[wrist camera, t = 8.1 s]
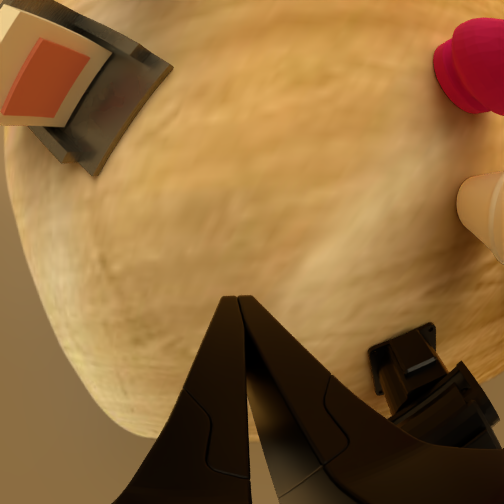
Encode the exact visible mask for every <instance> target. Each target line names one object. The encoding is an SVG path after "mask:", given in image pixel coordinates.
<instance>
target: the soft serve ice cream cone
mask: <svg viewBox="0 0 504 504" xmlns="http://www.w3.org/2000/svg"><path fill="white" fill-rule="evenodd" d="M456 204H457V213H458V216H459V219H460V221H461V223H462V224H463V225H464V226H465V227H466V228H467V229H468V230H470V231H471V232H472V233H473V234H474V235H475V236H476V237H477V238H478V239H479V240H481V241H482V242H483V243H484V244H485V245H486V246H487V247H488V248H489V249H490V250H491V251H492V253H493V254H494V256H495V257H496V259H497V260H498V261H499V262H500V263H501V264H503V265H504V171H500V172H494V173H489V174H484V175H478V176H473V177H470V178H468V179H466V180H465V181H464V182H463V184H462V185H461V187H460V189H459V191H458V195H457V203H456Z"/></svg>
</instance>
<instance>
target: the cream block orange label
mask: <svg viewBox="0 0 504 504" xmlns="http://www.w3.org/2000/svg"><path fill="white" fill-rule="evenodd" d="M111 54H112V52H110V51H109V50H107V49H105V48H104V47H102V46H100V45H98V44H97V43H95V42H93V41H91V40H90V39H88V38H86V37H84V36H82V35H80V34H78V33H76V32H74V31H71V30H69V29H67V28H65V27H63V26H61V25H58V24H56V23H54V22H51V21H49V20H47V19H44V18H42V17H39V16H37V15H34V14H31V13H29V12H26V11H23V10H21V9H18V8H15V7H12V6H9V5H6V4H4V5H3V6H2V8H1V9H0V126H52V127H65V125H66V123H67V121H68V120H69V118H70V116H71V114H72V112H73V111H74V109H75V107H76V106H77V104H78V102H79V101H80V99H81V97H82V96H83V94H84V92H85V91H86V89H87V88H88V86H89V85H90V83H91V82H92V80H93V79H94V77H95V76H96V74H97V73H98V72H99V70H100V69H101V67H102V66H103V65H104V63H105V62H106V61H107V59H108V58H109V57H110V55H111Z"/></svg>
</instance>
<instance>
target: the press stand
mask: <svg viewBox="0 0 504 504" xmlns="http://www.w3.org/2000/svg"><path fill="white" fill-rule="evenodd" d="M4 4H6V5H9V6H12V7H15V8H18V9H21V10H23V11H26V12H29V13H31V14H34V15H37V16H39V17H42V18H44V19H47V20H49V21H51V22H54V23H56V24H58V25H61V26H63V27H65V28H67V29H69V30H71V31H74V32H76V33H78V34H80V35H82V36H84V37H86V38H88V39H90V40H91V41H93V42H95V43H97V44H98V45H100V46H102V47H104V48H105V49H107V50H109V51H110V52H112V54H111V55H110V57H109V58H108V59H107V61H106V62H105V63H104V65H103V66H102V67H101V69H100V70H99V72H98V73H97V74H96V76H95V77H94V79H93V80H92V82H91V83H90V85H89V86H88V88H87V89H86V91H85V92H84V94H83V96H82V97H81V99H80V101H79V102H78V104H77V106H76V107H75V109H74V111H73V112H72V114H71V116H70V118H69V120H68V121H67V123H66V125H65V127H52V126H28V127H29V128H30V129H31V130H32V132H33V133H34V134H35V135H36V136H37V137H38V138H39V140H40V141H41V142H42V143H43V144H44V145H45V146H46V147H47V148H48V150H49V151H50V152H51V153H52V154H53V155H54V156H55V157H56V158H57V159H58V160H59V162H60V163H61V164H63V163H74V162H78V163H79V164H80V165H81V166H82V167H83V168H84V169H85V170H86V171H87V172H88V173H89V174H90V175H91V176H98V175H99V173H100V171H101V169H102V168H103V166H104V164H105V163H106V161H107V159H108V157H109V156H110V154H111V153H112V151H113V149H114V148H115V146H116V144H117V143H118V141H119V140H120V138H121V137H122V135H123V134H124V132H125V131H126V129H127V128H128V126H129V125H130V123H131V122H132V120H133V119H134V118H135V116H136V115H137V113H138V112H139V111H140V109H141V108H142V106H143V105H144V104H145V102H146V101H147V100H148V98H149V97H150V96H151V95H152V93H153V92H154V91H155V89H156V88H157V87H158V86H159V84H160V83H161V82H162V81H163V80H164V78H165V77H166V76H167V75H168V74H169V72H170V71H171V70H172V69H173V68H174V67H173V66H172V65H170V64H169V63H167V62H166V61H164V60H162V59H161V58H159V57H158V56H156V55H154V54H153V53H151V52H150V51H148V50H147V49H146V48H144V47H143V46H142V45H140V44H139V43H137V42H135V41H133V40H132V39H130V38H128V37H126V36H124V35H122V34H120V33H118V32H116V31H115V30H113V29H111V28H109V27H107V26H104V25H102V24H100V23H98V22H96V21H94V20H92V19H90V18H87V17H85V16H83V15H81V14H79V13H77V12H75V11H73V10H71V9H69V8H67V7H66V6H64V5H62V4H60V3H58V2H56V1H54V0H3V2H2V3H1V4H0V9H1V8H2V6H3V5H4Z"/></svg>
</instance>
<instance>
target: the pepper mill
mask: <svg viewBox="0 0 504 504" xmlns="http://www.w3.org/2000/svg"><path fill="white" fill-rule="evenodd" d="M433 63H434V70H435V73H436V77H437V79H438V81H439V83H440V85H441V88H442V89H443V91H444V92H445V93H446V95H447V96H448V98H449V99H450V100H451V101H452V102H453V103H454V104H455V105H456V106H458V107H459V108H460V109H462V110H464V111H466V112H468V113H473V114H477V113H484V112H489V111H492V112H494V113H496V114H499V115H502V116H504V20H503V19H494V18H476V19H471V20H468V21H466V22H464V23H462V24H460V25H459V26H458V27H457V28H456V29H455V31H454V33H453V37H452V39H450V40H448V41H446V42H445V43H443V44H441V45H440V46H439V47H437V49H436V50H435V53H434V59H433Z"/></svg>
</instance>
